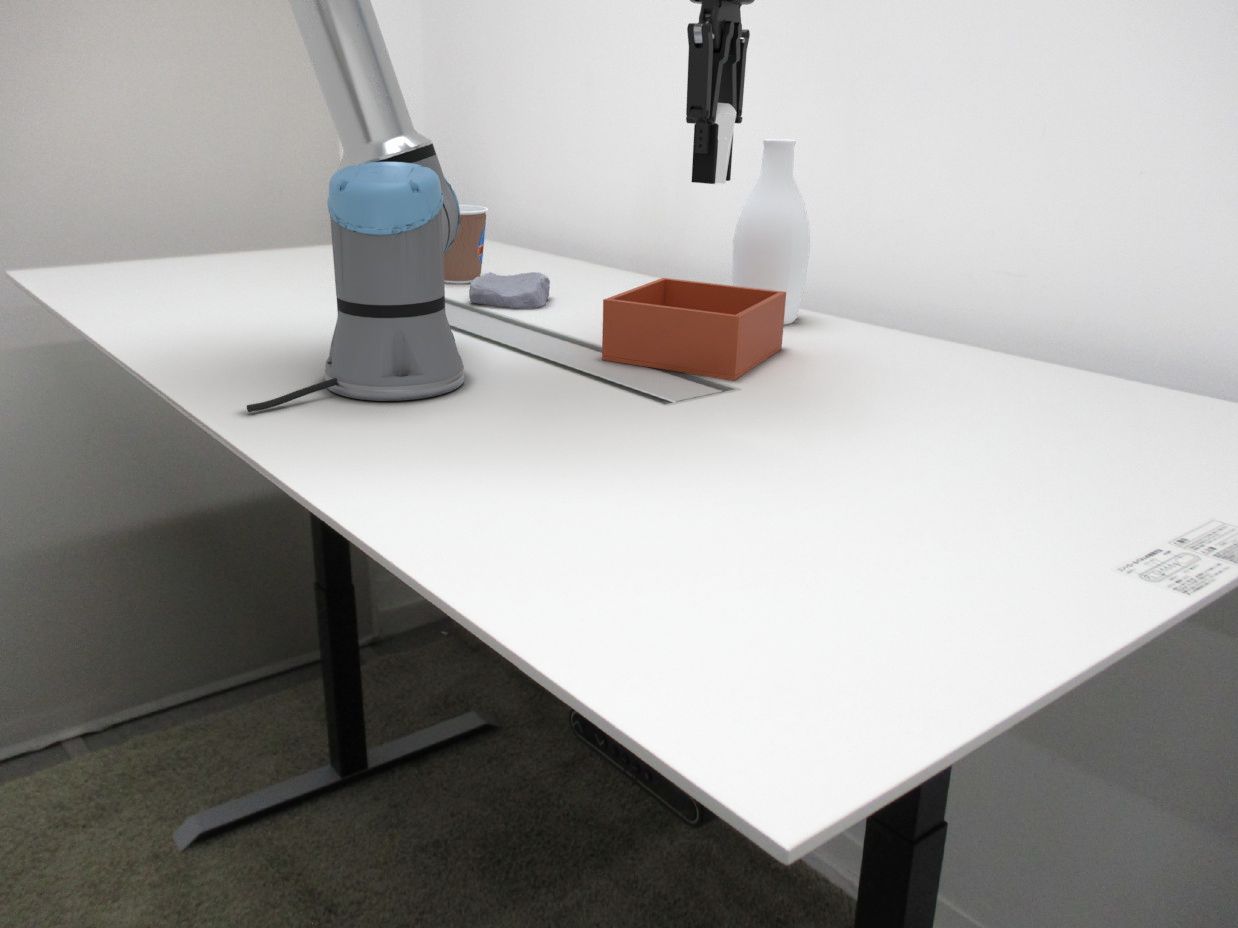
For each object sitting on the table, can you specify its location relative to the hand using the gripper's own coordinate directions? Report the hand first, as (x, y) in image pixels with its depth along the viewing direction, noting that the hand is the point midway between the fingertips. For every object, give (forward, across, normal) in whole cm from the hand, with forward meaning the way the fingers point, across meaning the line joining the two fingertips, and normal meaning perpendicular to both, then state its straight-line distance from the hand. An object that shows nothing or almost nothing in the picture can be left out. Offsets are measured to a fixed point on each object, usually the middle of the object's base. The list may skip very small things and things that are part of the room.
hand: (711, 181), depth 121 cm
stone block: (+22, +14, +38) cm, 46 cm away
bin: (+22, 0, +1) cm, 22 cm away
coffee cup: (+22, +25, +55) cm, 65 cm away
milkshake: (0, 0, 0) cm, 1 cm away
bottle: (+22, +26, 0) cm, 34 cm away
